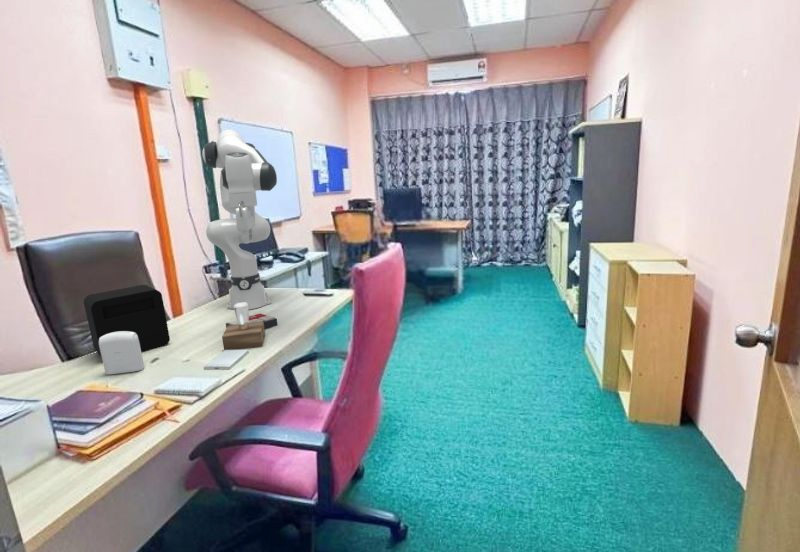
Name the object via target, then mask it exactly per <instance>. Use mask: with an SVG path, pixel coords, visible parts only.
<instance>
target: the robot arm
mask: <svg viewBox="0 0 800 552" xmlns="http://www.w3.org/2000/svg"><path fill="white" fill-rule="evenodd" d="M217 137H218V138H217V141H214V140H211V141H210V142H207V143H206V144H204V146H203V149H202V158H203V161H204V163H205V165H206V166H207V167H208V168H211V169H216V168H217V169H221V170H220V175H219V176H220V177H219V189H220V199H221V206H222V207H223V209H224V210H225V211H226V212H228V213H229V214H233V215H235V217H234V218H233V217H231V218H221V219H220V218H219V219H216V220H213V221H210V222H209V223H208V224H207V226H206V230H205V233H206V238H207V239H208V241H209V242H210V243H211V244H213V245H214V246H216V247H218V248H219V249H220V250H221V251H222V252H223V253H224V254H225V256H226V258H227V260H228V264H229V267H230V272H231V273H230V282H231V283H230V284H231V287H230V288H229V289H228V293H229V295H228V296H229V303H228V304H227V305H226V309H229V310H230V309H231V310H234V305H235V304H237V303H239V301H238V298H239V299H240V303H241V302H246V303H247V304H248V310H254V309H257V308H261V307H263V306H267V305H271V304H272V302H271V299H270V298H269V295H268V294H267V292H265V286H264V284H262V282H261V275H260V273H259V270H258V263H257V257H256V255H255V254H253V253H252V252H251V251H248V250H245V249H242V248H241V247H240V244H247V245H249V243H258V242H261V241H264V240H265V241H266V240H267V239H268V238H269V236H270V234H271V224H270V223H269V221H268V220H267V219H266V218H265V217H263V216H262V215H260V214H258V213H257V212H256V210H255V207H256V206H257V207H258V199H257V193H256V191H263V192H264V191H265V192H266V191H267V192H270V191H271V190H273V189H274V188H275V187H276V185H277V183H278V176H277V172H276V168H275V167H274V166H273V165H272V163H270V162H269V161H267V160H266V158H265V157H264V156H263V155H262V153H261V152H260V151H259V150H258V149H256V147H255V145H254V144H253V143H251V142H245V140H244V138H243V137H242V135H241V134H240V133H239V132H238V131H236V130H234V129H229V128H228V129H224V130H222V131H221V132H220V133H219V135H218V136H217Z"/></svg>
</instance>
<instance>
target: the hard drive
mask: <svg viewBox="0 0 800 552" xmlns="http://www.w3.org/2000/svg"><path fill="white" fill-rule="evenodd" d="M249 353H250V351H249V349H239V350H225V351H224V350H223V351H222V352H220V353H219V354H218V355H216V356H215V357H214V358H213V359H212V360H211V361H209V362H208V363H207V364H206V365H204V366H203V370H204V371H206V370H207V371H208V370H209V371H211V370H212V371H213V370H214V371H215V370H217V371H218V370H219V371H221V370H222V371H224V370H226V371H228V370H231V369H232V368H233V367H235V366H236V365H237V364H238V363H240V361H241V360H243V359H244V358H246V356H247V355H248V354H249Z"/></svg>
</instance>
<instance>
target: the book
mask: <svg viewBox="0 0 800 552" xmlns="http://www.w3.org/2000/svg"><path fill="white" fill-rule="evenodd" d="M248 317H249V323H252V322H260V321H264V328H265V330H268V329H270V328H271V329H272V328H273V327H276V326H278V318H276V317H275V316H271V315H268V314H265V313H256V314H252V315H248ZM235 324H238V322H237V319H234V320H231V321H227V322H226V323H225V329H226V328H227V326H228V325H235Z"/></svg>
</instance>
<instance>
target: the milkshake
mask: <svg viewBox="0 0 800 552" xmlns="http://www.w3.org/2000/svg"><path fill="white" fill-rule="evenodd" d="M238 301H239V303H237V304H235V305H234V309H233V311H234V314H235V318H236V320H237V322H238V327H239V330H246V329H248V328H249V317H248V316H249V309H248V304H247V303H246V302H241V303H240V299H239V298H238Z"/></svg>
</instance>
